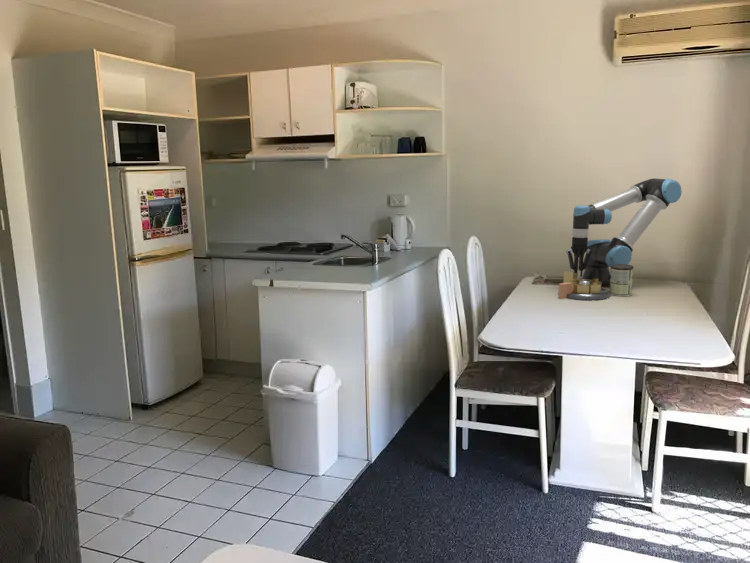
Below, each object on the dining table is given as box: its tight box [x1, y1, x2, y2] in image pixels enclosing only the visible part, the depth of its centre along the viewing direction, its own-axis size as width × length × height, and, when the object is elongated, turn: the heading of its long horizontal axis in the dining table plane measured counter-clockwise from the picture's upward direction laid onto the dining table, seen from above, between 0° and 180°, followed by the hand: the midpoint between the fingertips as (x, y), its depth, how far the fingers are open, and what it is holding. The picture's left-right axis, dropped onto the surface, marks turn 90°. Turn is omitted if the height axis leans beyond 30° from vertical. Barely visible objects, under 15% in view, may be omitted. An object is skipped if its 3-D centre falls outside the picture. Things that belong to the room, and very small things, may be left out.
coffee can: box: [609, 264, 634, 297], centre depth 304 cm, size 10×10×14 cm
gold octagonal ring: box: [562, 270, 602, 294], centre depth 307 cm, size 22×15×7 cm
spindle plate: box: [566, 280, 611, 302], centre depth 304 cm, size 24×24×7 cm
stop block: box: [557, 282, 572, 300], centre depth 299 cm, size 6×2×7 cm, turn 114°
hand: (577, 282), depth 315 cm, fingers closed
